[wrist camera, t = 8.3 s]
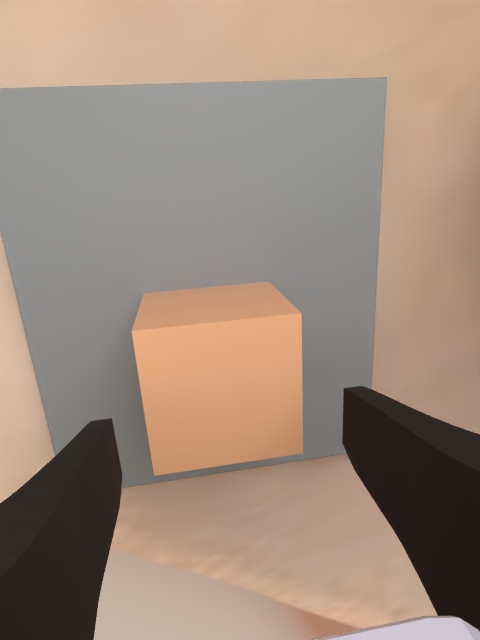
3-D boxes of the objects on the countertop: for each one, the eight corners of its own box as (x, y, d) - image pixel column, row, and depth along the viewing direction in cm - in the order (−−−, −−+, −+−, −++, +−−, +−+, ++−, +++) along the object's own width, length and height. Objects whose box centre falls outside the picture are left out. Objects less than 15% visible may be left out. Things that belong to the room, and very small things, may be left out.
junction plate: (373, 84, 17) (440, 48, 13) (358, 437, 23) (402, 495, 19) (-20, 96, 15) (-99, 58, 11) (71, 480, 21) (43, 556, 17)
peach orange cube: (268, 281, 18) (301, 313, 13) (273, 391, 20) (303, 453, 15) (143, 293, 17) (131, 330, 13) (159, 406, 19) (154, 475, 14)
